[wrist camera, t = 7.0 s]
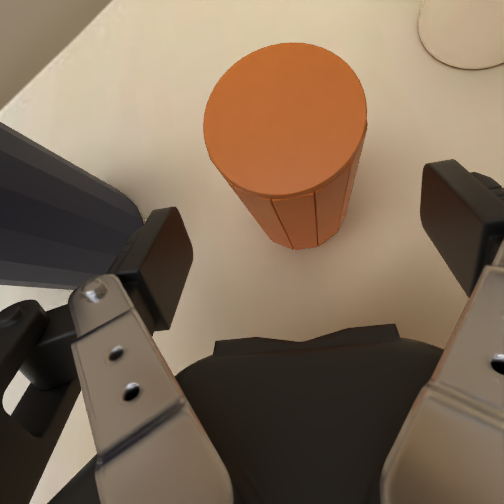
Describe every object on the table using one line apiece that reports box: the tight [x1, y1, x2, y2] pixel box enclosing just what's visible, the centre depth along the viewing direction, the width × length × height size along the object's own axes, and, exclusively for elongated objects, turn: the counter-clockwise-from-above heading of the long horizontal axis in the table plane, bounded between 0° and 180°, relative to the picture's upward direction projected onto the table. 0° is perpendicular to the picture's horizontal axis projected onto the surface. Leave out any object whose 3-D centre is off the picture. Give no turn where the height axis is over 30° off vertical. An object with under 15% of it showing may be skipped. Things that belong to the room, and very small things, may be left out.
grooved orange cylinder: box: [203, 43, 368, 250], centre depth 15 cm, size 5×5×10 cm
